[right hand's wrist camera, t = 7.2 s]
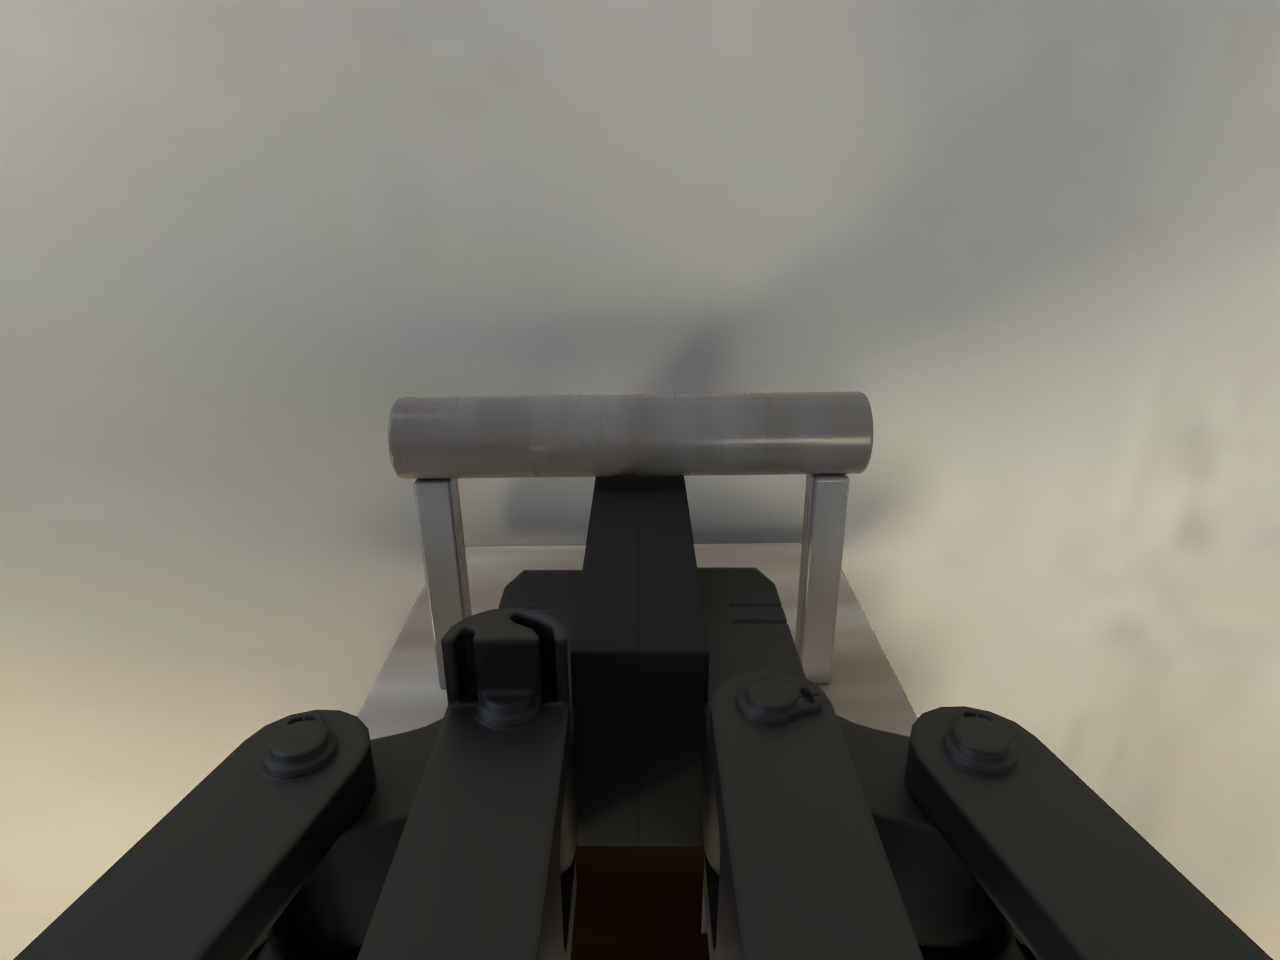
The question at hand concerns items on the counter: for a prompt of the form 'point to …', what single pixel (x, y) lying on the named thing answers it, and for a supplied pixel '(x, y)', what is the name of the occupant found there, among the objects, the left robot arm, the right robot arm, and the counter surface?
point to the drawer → (476, 576)
